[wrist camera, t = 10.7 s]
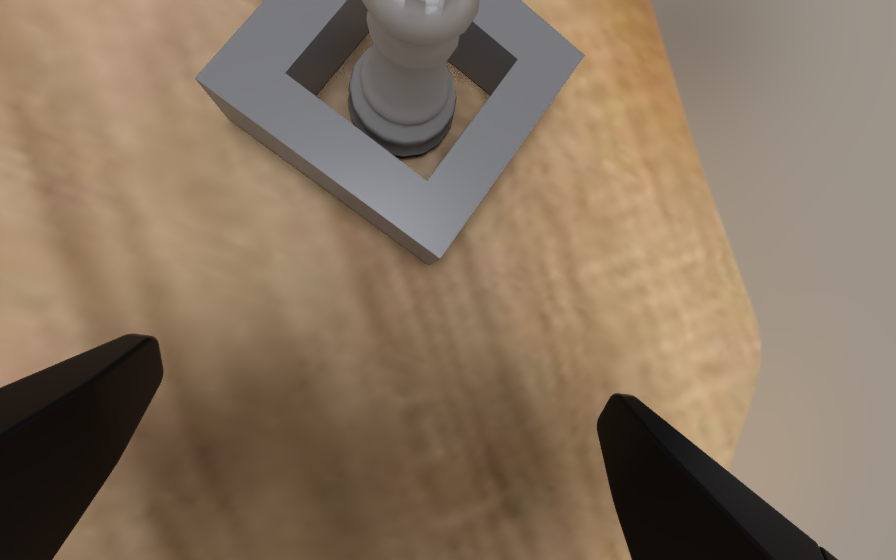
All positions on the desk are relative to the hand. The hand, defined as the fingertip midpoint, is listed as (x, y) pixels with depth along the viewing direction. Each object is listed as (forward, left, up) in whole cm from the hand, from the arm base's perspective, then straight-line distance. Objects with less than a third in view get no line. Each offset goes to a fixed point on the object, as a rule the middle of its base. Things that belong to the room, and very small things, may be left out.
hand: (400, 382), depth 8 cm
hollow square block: (+9, +5, -9) cm, 13 cm away
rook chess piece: (+8, +5, -9) cm, 13 cm away
